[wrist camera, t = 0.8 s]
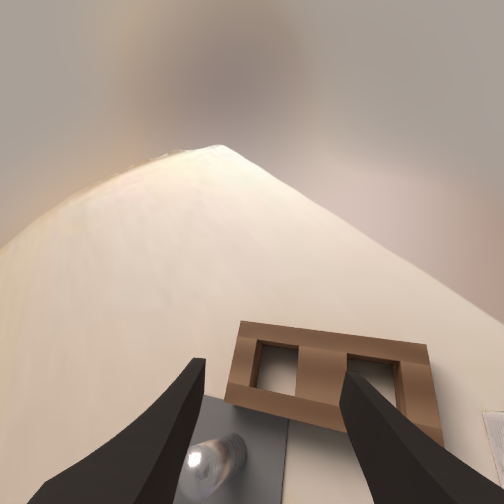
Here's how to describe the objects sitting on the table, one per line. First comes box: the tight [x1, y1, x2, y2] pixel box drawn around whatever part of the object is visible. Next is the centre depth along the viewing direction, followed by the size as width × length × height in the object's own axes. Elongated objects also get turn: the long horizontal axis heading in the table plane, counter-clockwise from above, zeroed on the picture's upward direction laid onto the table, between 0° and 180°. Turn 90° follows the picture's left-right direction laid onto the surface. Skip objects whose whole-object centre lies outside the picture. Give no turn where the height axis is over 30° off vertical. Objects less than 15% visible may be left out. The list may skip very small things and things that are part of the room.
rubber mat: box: [173, 395, 288, 504], centre depth 22 cm, size 10×10×1 cm
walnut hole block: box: [224, 321, 445, 449], centre depth 23 cm, size 8×18×3 cm, turn 79°
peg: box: [174, 433, 247, 504], centre depth 19 cm, size 3×3×9 cm
